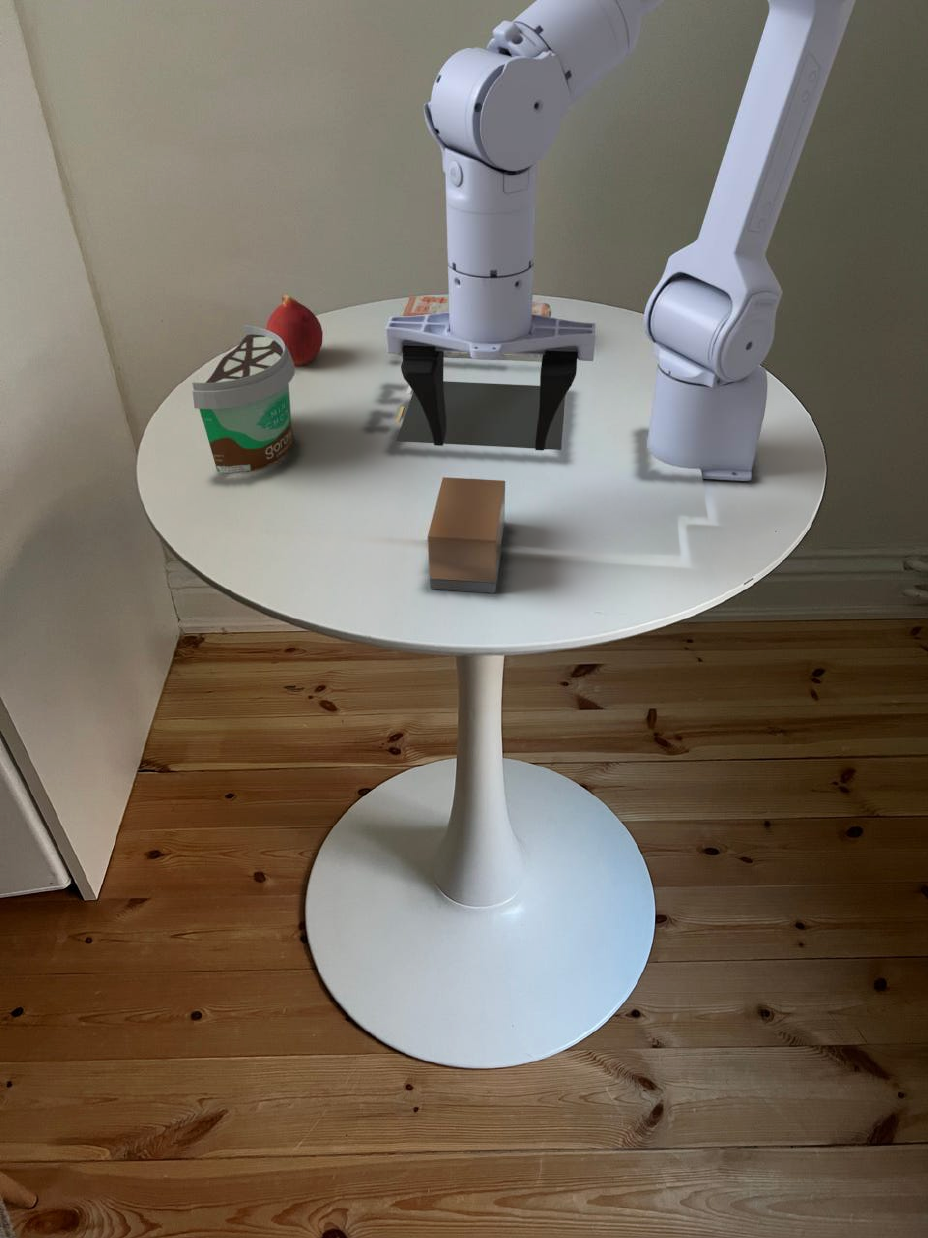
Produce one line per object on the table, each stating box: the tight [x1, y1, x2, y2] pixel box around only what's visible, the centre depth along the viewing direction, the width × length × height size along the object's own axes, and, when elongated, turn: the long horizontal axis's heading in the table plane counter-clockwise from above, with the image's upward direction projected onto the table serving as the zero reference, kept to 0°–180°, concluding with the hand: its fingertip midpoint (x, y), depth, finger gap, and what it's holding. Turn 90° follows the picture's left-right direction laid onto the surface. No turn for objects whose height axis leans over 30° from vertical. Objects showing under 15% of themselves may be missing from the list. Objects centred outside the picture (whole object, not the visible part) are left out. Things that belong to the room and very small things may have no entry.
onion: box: [265, 294, 324, 367], centre depth 96 cm, size 6×6×8 cm
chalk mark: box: [395, 405, 406, 423], centre depth 89 cm, size 3×3×1 cm
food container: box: [192, 325, 296, 474], centre depth 82 cm, size 12×6×10 cm, turn 168°
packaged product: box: [396, 295, 552, 363], centre depth 100 cm, size 18×5×10 cm
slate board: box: [395, 380, 566, 451], centre depth 89 cm, size 16×13×1 cm
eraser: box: [427, 476, 506, 594], centre depth 71 cm, size 5×8×5 cm, turn 173°
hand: (490, 441), depth 70 cm, fingers open, 7 cm apart
